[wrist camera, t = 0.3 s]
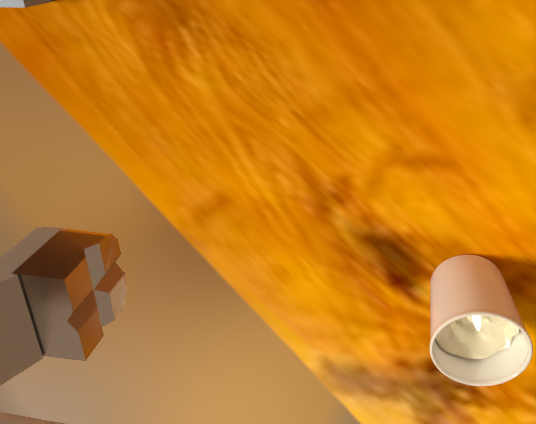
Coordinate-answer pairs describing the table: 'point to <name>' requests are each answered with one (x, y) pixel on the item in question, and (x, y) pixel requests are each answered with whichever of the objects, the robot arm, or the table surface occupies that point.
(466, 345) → the candle holder
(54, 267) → the robot arm
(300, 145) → the table surface
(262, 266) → the table surface
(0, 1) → the block
